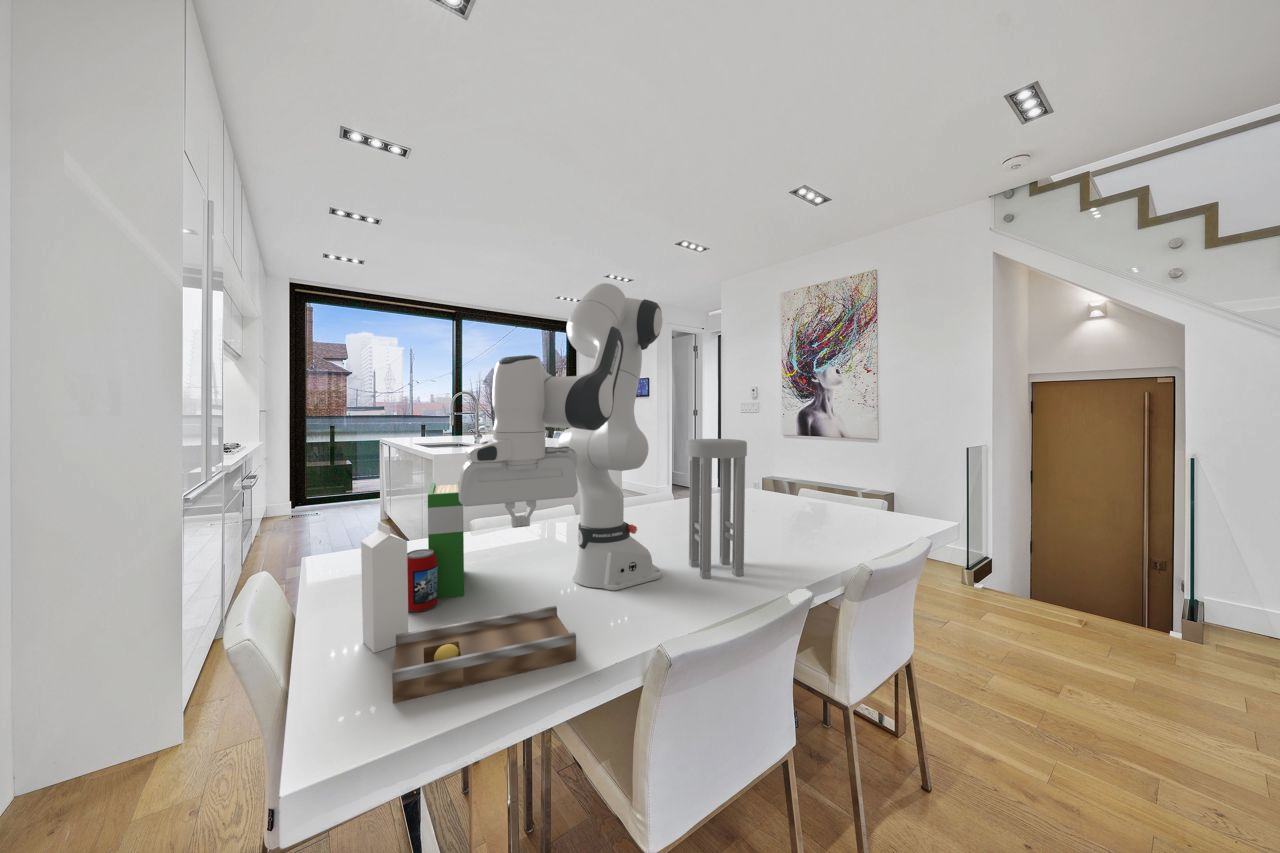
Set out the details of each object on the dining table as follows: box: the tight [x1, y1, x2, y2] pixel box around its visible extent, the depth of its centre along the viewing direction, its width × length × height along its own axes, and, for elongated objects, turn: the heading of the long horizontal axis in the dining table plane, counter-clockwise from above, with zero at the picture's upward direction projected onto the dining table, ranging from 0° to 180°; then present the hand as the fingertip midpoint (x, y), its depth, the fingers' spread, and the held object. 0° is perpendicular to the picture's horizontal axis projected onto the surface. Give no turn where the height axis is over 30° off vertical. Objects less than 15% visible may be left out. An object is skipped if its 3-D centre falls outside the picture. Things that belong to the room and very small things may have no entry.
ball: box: [434, 644, 460, 662], centre depth 78 cm, size 4×4×4 cm
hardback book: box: [427, 481, 465, 600], centre depth 115 cm, size 18×7×24 cm, turn 21°
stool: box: [685, 438, 748, 580], centre depth 126 cm, size 16×16×35 cm
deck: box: [391, 605, 577, 704], centre depth 81 cm, size 28×13×4 cm, turn 115°
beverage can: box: [407, 548, 439, 613], centre depth 102 cm, size 7×7×12 cm
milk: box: [360, 521, 409, 654], centre depth 87 cm, size 6×6×22 cm
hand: (520, 526), depth 83 cm, fingers closed
